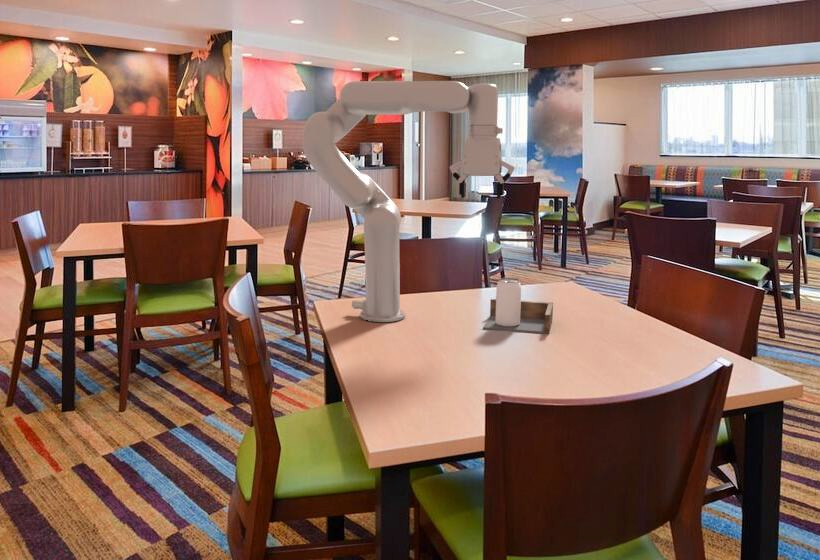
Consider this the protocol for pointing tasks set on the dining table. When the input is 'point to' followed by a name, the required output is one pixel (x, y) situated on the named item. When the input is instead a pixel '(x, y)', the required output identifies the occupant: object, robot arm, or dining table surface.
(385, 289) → the robot arm
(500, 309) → the can
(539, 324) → the mat
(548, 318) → the corner walls
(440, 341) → the dining table surface
